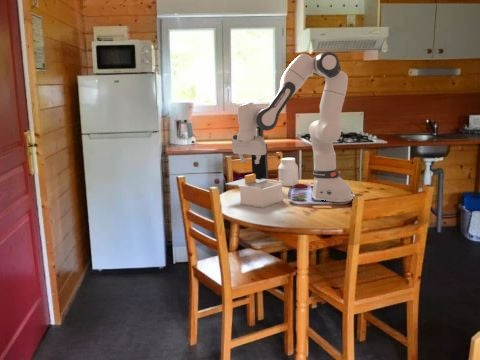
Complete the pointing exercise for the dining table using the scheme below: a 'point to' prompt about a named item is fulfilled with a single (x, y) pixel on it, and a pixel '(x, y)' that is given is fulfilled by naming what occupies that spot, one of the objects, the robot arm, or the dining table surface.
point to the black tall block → (260, 166)
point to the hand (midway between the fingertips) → (250, 163)
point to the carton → (261, 194)
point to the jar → (288, 172)
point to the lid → (247, 181)
